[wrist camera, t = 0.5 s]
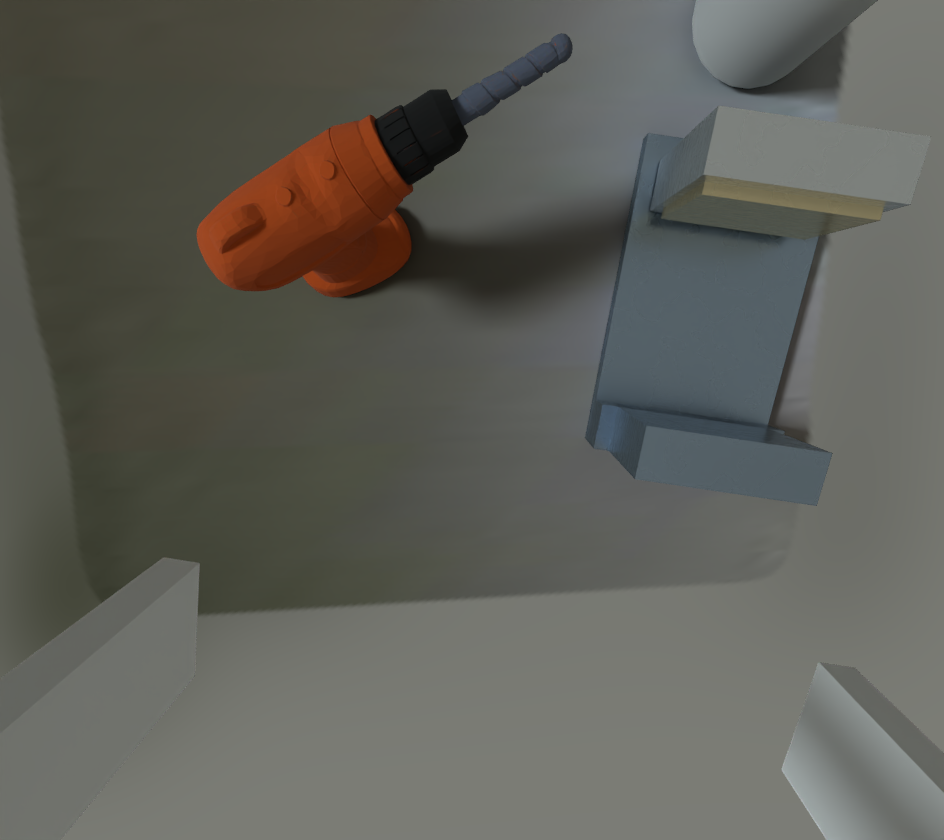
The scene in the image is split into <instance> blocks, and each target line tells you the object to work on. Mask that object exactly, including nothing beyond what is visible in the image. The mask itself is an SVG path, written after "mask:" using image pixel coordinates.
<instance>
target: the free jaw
mask: <svg viewBox="0 0 944 840" xmlns="http://www.w3.org/2000/svg"><path fill="white" fill-rule="evenodd" d="M930 139H931V136H924V135H917V134H910V133H903V132H896V131H889V130H883V129H876V128H868V127H862V126H855V125H847V124H841V123H834V122H827V121H821V120H814V119H807V118H800V117H793V116H786V115H779V114H772V113H765V112H758V111H751V110H745V109H738V108H731V107H724V106H718V107H717V108H716V109H715V110H714V111H712V112H711V113H710V114H709V115H708V116H707V117H706V118H705V119H704V120H703V121H702V122H701V123H700V124H699V125H697V126H696V127H695V128H694V129H693V130H692V131H691V132H690V133H689V134H688V135H687V136H686V137H685V138H684V139H683V140H681V141H680V142H679V143H678V144H677V145H676V146H675V147H674V148H673V149H672V150H671V151H670V152H669V153H668V154H666V155H665V156H664V157H663V158H662V159H661V160H660V164H659V169H658V174H657V178H656V183H655V188H654V193H653V198H652V203H651V208H650V211H654V212H661V213H662V216H661V219H666V220H673V221H680V222H687V223H694V224H700V225H707V226H714V227H721V228H728V229H735V230H742V231H749V232H755V233H762V234H769V235H776V236H783V237H790V238H797V239H803V240H806V239H810V238H813V237H817V236H821V235H825V234H829V233H833V232H836V231H841V230H844V229H848V228H852V227H856V226H860V225H864V224H868V223H872V222H876V221H879V220H880V219H881V215H882V212H885V211H889V210H893V209H896V208H900V207H903V206H907V205H910V204H911V202H912V198H913V195H914V191H915V188H916V185H917V182H918V178H919V175H920V172H921V168H922V165H923V161H924V159H925V155H926V152H927V149H928V145H929V142H930Z"/></svg>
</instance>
